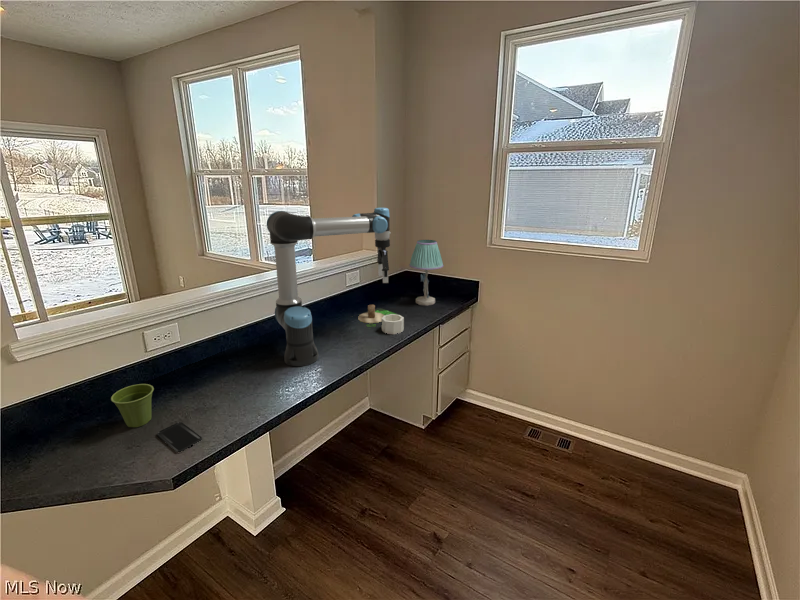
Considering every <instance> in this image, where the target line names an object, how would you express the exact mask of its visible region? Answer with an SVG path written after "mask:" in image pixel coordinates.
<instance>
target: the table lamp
mask: <svg viewBox="0 0 800 600" xmlns="http://www.w3.org/2000/svg"><path fill="white" fill-rule="evenodd" d="M410 258H411V259H410V263H409V264H408V266H409V267H410V268H413V269H415V270H424V272H423V273H421V274H420V282H423V289H422V291H423V294H424V295H423V296H417V297H416V298H415V304H418V305H419V306H432V305H434V304H435V303H436V298H435V297H433V296H430V295H429V282H430V280H429V279H428V275H429V271H431V270H438V269H443V267H444V264H443V259H442V255H441V252H440V247H439V246H438V242H437V240H434V239H419V240H417V241H416V244H415V247H414V249H413V253H412V254H411V257H410Z"/></svg>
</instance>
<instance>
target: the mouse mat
mask: <svg viewBox="0 0 800 600" xmlns="http://www.w3.org/2000/svg"><path fill="white" fill-rule="evenodd" d="M375 312H377V313H381V314H384V315H389V314H396V315H401V316H402V317H404V316H403V315H402V314H399V313H396V312H394V311H391V310H388V309H385V308H382V307H375ZM363 313H368V310H367V311H365V312H362V313H358V315H361V314H363ZM353 316H354V315H352V316H351V317H353ZM366 326H367V327H373V328H372V329H375V328H377V326H376V324H366ZM374 327H375V328H374Z"/></svg>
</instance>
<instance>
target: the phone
mask: <svg viewBox="0 0 800 600" xmlns="http://www.w3.org/2000/svg"><path fill="white" fill-rule="evenodd" d="M156 434H157V435H156V436H157V437H158V438H159V439H160V440H161V441H162V442H164V443H165V442H166V443H167V444H168V445H169V447H170V448H171V449H172V448H173V449H174V450H175V451H174V450H173V449H172V450H173V451H174V452H175V453H177V452H181V451H183V450H185V449H187V448H188V447H191V445H193V444H195V443H197V442H199V441H201V440H202V441H203V437H202V436H201V435H200V434H198V433H197V432H195V431H194V430H193V429H191V428H190V427H189V426H188V425H186V424H185V423H183V422H181V421H178V422H176V423H174V424H172V425H170V426H167V427H165V428H163V429H162V430H159V431H158V432H157V433H156ZM202 441H201V442H202ZM166 443H165V444H166ZM167 444H166V445H167ZM168 445H167V446H168ZM187 450H188V449H187ZM185 451H186V450H185ZM183 452H184V451H183ZM181 453H182V452H181Z"/></svg>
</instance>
